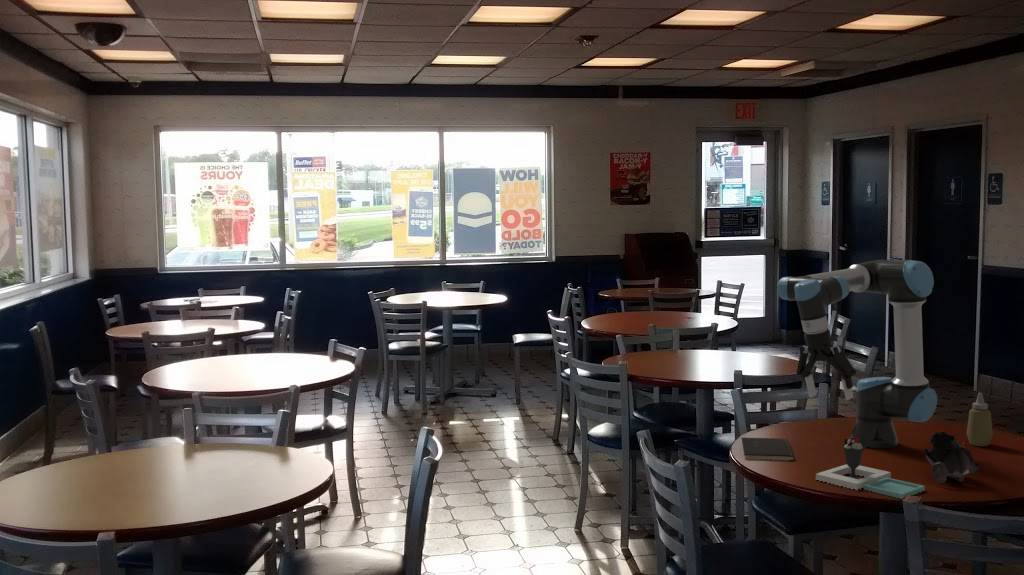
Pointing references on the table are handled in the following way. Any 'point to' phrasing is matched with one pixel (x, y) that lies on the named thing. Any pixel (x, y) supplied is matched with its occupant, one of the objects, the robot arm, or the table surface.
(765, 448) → the hardcover book
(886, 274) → the robot arm
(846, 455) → the sundae
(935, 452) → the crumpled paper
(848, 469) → the board
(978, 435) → the squeeze bottle
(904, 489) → the tray
